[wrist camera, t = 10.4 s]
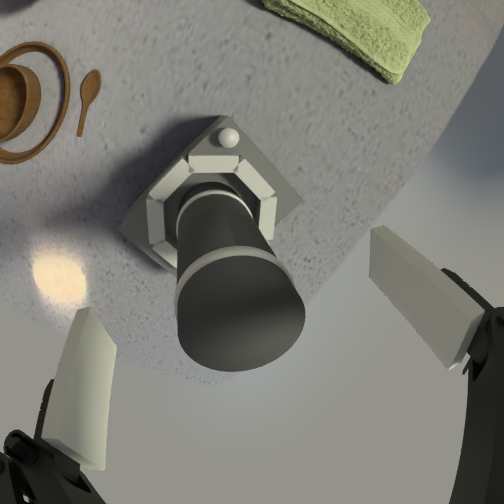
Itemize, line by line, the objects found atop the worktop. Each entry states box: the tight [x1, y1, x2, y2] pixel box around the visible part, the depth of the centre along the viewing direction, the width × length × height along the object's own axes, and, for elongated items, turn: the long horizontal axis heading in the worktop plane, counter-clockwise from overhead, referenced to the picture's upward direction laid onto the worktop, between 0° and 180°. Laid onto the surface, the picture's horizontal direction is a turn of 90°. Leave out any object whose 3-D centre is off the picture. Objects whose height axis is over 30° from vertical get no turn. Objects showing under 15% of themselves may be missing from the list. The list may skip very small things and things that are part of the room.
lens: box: [175, 182, 305, 372], centre depth 17 cm, size 5×5×13 cm
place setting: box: [0, 41, 101, 164], centre depth 14 cm, size 18×20×6 cm
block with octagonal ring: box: [117, 115, 303, 278], centre depth 24 cm, size 12×9×6 cm
